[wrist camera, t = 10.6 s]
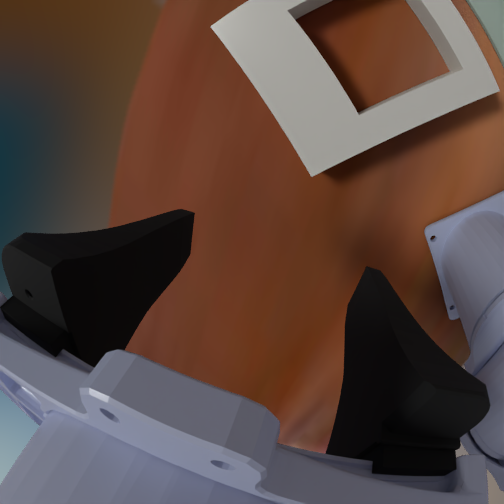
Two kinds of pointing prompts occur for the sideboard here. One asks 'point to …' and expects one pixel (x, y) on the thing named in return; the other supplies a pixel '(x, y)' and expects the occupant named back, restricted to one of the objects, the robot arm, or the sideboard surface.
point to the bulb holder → (330, 90)
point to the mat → (491, 22)
